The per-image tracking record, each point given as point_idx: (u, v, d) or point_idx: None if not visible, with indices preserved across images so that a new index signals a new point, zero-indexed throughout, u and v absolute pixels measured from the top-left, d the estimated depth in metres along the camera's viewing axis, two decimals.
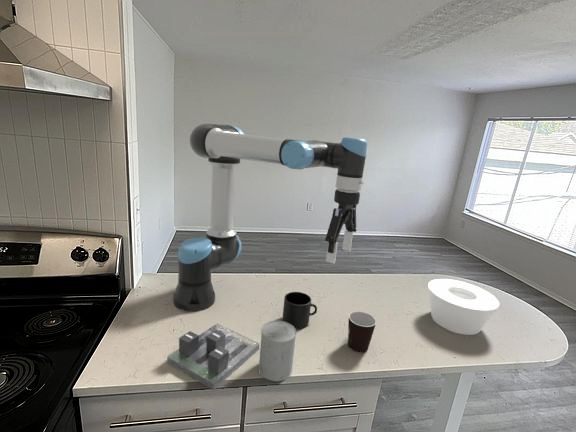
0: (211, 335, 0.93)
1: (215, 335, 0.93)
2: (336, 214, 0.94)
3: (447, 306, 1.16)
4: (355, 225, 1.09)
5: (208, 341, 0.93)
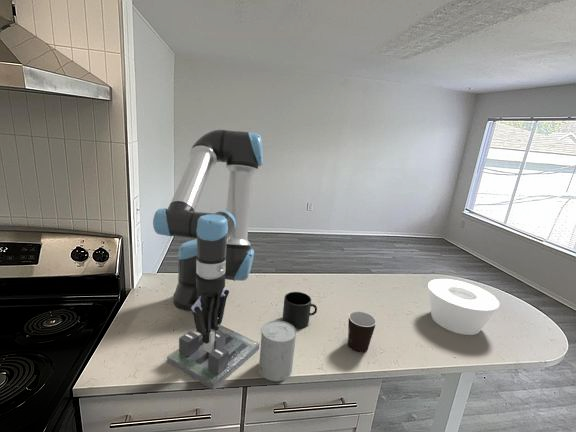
0: None
1: None
2: (194, 311, 0.83)
3: (447, 306, 1.16)
4: (220, 319, 0.92)
5: None
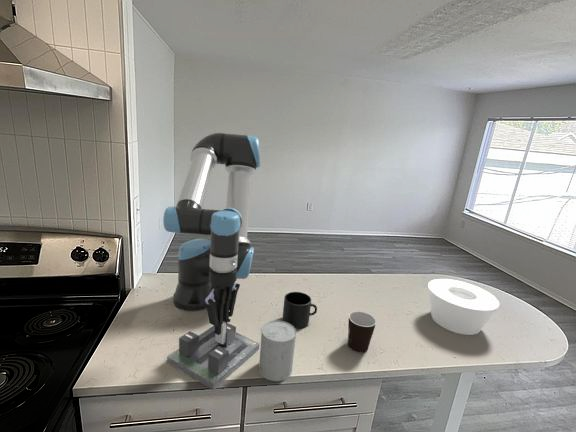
0: None
1: None
2: (207, 303, 0.87)
3: (447, 306, 1.16)
4: (231, 312, 0.96)
5: None
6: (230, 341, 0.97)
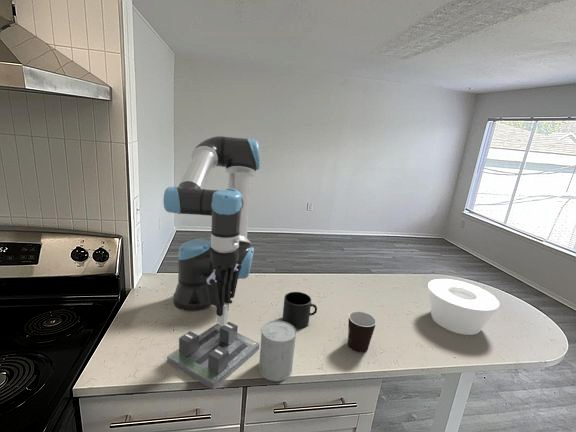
0: (224, 326, 0.98)
1: (228, 326, 0.98)
2: (209, 284, 0.86)
3: (447, 306, 1.16)
4: (233, 293, 0.95)
5: (221, 332, 0.97)
6: (232, 340, 0.98)
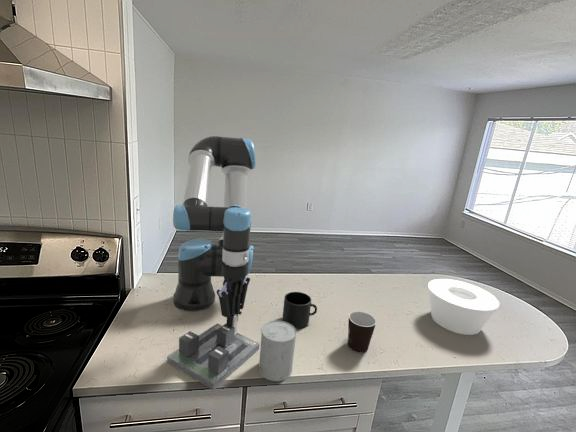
0: (221, 328, 0.97)
1: (225, 328, 0.97)
2: (221, 296, 0.91)
3: (447, 306, 1.16)
4: (242, 305, 1.00)
5: (218, 334, 0.96)
6: (229, 342, 0.97)
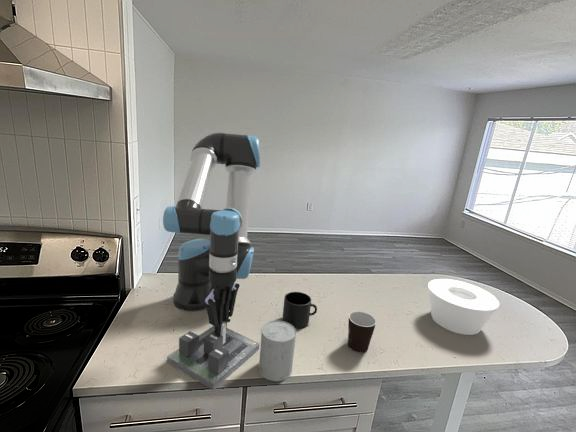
0: (208, 337, 0.92)
1: (212, 337, 0.92)
2: (207, 304, 0.87)
3: (447, 306, 1.16)
4: (231, 312, 0.96)
5: (205, 343, 0.92)
6: None
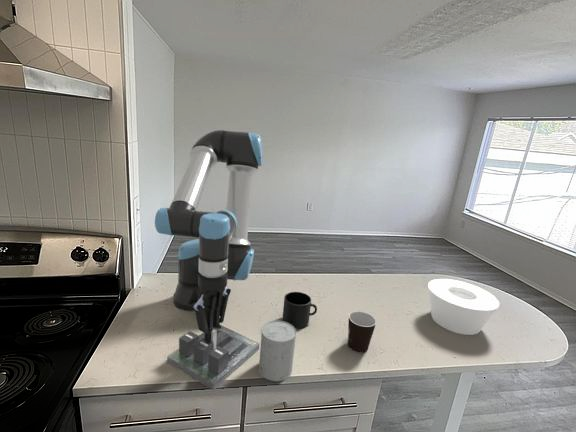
0: (198, 344, 0.89)
1: (203, 344, 0.89)
2: (196, 310, 0.84)
3: (447, 306, 1.16)
4: (222, 318, 0.92)
5: (195, 350, 0.88)
6: (207, 359, 0.89)
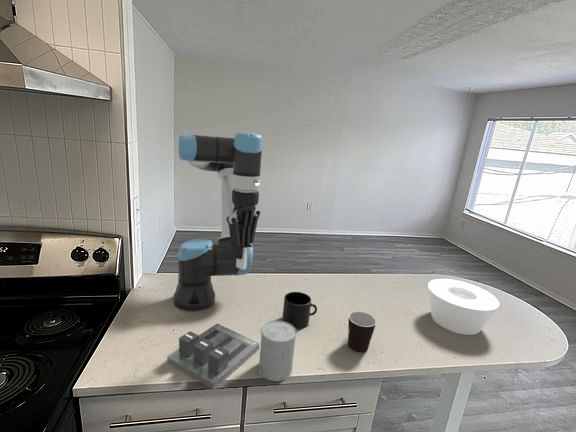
0: (198, 344, 0.89)
1: (203, 344, 0.89)
2: (231, 223, 0.89)
3: (447, 306, 1.16)
4: (252, 238, 0.97)
5: (195, 350, 0.88)
6: (207, 359, 0.89)
